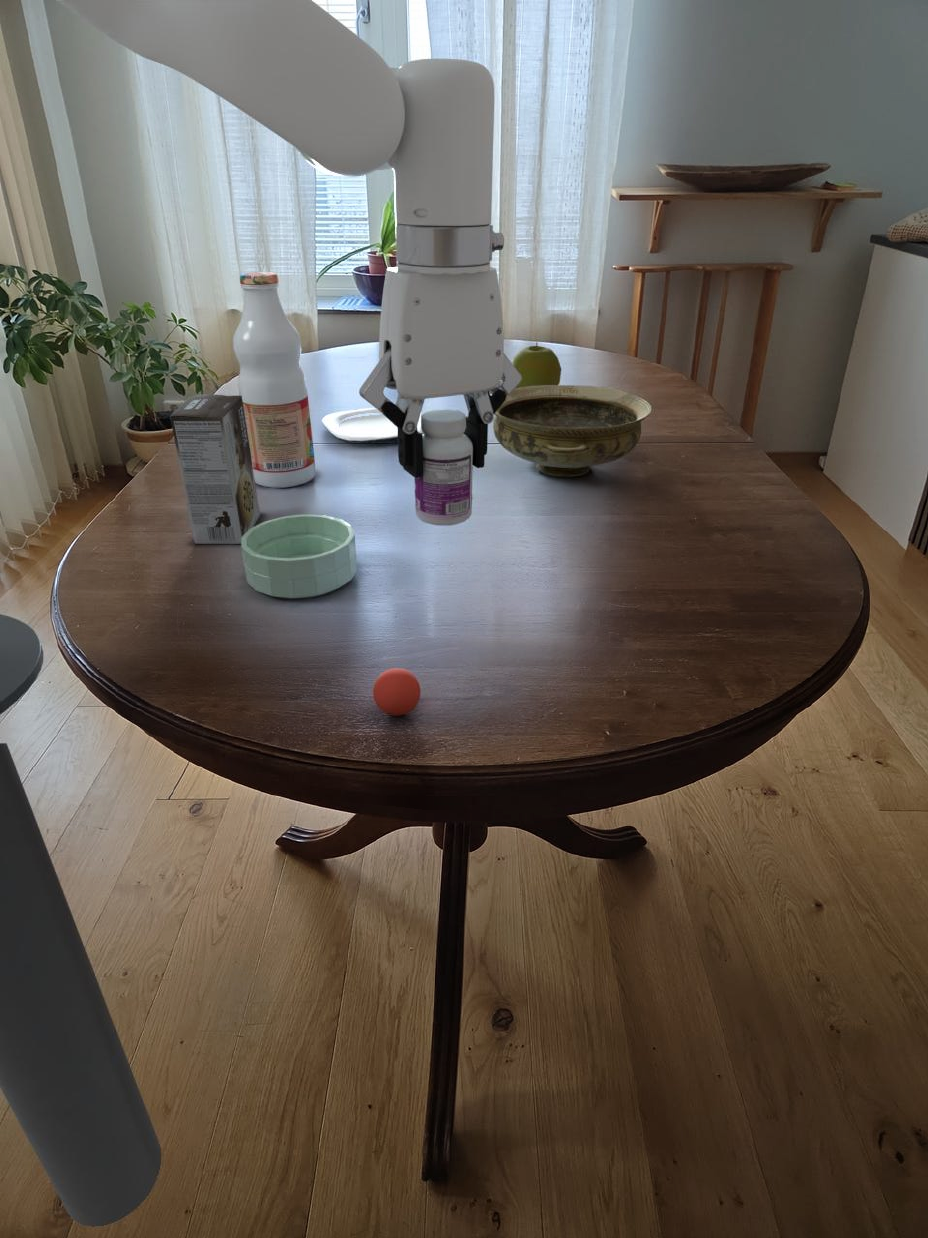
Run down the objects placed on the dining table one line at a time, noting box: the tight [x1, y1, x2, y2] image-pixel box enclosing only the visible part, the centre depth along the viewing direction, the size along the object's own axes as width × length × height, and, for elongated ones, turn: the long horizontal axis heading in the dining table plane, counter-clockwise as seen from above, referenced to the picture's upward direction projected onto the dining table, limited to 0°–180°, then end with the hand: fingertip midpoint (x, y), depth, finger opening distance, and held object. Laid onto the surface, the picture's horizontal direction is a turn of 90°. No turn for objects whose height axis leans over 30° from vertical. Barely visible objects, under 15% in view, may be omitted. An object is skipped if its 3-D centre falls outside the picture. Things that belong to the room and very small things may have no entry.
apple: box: [511, 341, 562, 388], centre depth 151 cm, size 10×10×11 cm
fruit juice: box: [232, 271, 316, 489], centre depth 110 cm, size 9×9×28 cm
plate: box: [321, 407, 424, 444], centre depth 137 cm, size 18×18×2 cm
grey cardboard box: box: [169, 394, 261, 545], centre depth 97 cm, size 9×6×16 cm
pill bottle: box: [414, 408, 474, 527], centre depth 72 cm, size 5×5×10 cm
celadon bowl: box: [240, 513, 358, 599], centre depth 88 cm, size 12×12×5 cm
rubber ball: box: [372, 667, 421, 717], centre depth 66 cm, size 4×4×4 cm
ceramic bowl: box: [492, 384, 653, 478], centre depth 117 cm, size 30×24×10 cm
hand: (443, 466), depth 72 cm, fingers closed on pill bottle, 5 cm apart
